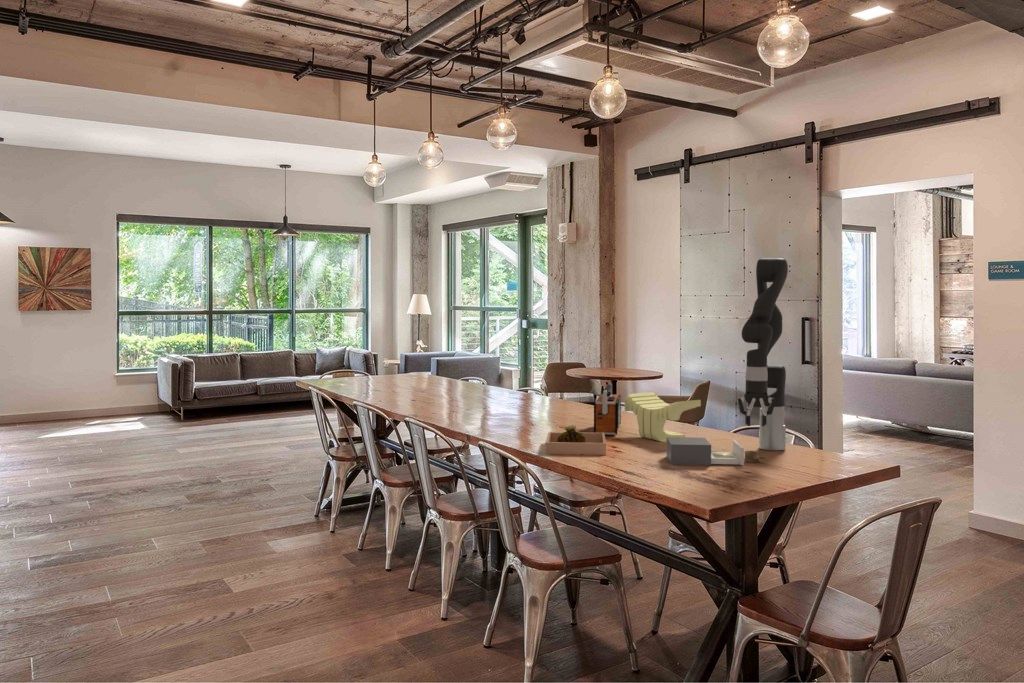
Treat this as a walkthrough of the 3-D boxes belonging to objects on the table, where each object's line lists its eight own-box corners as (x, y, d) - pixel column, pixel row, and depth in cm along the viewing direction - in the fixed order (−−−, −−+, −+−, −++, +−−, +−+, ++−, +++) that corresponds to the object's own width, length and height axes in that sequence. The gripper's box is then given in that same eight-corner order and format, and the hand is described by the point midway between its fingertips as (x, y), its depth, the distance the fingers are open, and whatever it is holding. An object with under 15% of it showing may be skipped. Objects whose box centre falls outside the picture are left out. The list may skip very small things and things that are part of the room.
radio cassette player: (616, 437, 323) (617, 391, 322) (592, 436, 325) (593, 390, 324) (620, 426, 352) (621, 383, 351) (598, 425, 354) (598, 383, 353)
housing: (705, 457, 281) (705, 437, 280) (711, 465, 266) (711, 445, 266) (666, 456, 282) (666, 437, 281) (670, 464, 268) (671, 444, 267)
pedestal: (757, 460, 275) (757, 450, 275) (760, 463, 270) (760, 453, 270) (743, 459, 276) (743, 450, 275) (746, 462, 271) (746, 453, 270)
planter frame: (604, 443, 308) (604, 432, 308) (606, 454, 285) (606, 443, 285) (548, 442, 310) (548, 432, 310) (545, 453, 287) (545, 442, 287)
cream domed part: (729, 457, 276) (729, 452, 276) (733, 460, 270) (733, 456, 270) (713, 456, 276) (713, 452, 276) (716, 460, 270) (716, 455, 270)
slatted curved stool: (624, 434, 328) (624, 394, 327) (652, 431, 336) (653, 392, 335) (670, 446, 302) (671, 402, 301) (700, 442, 310) (700, 399, 309)
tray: (735, 457, 279) (735, 440, 279) (743, 465, 265) (743, 447, 265) (697, 456, 281) (697, 440, 280) (703, 464, 267) (703, 447, 266)
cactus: (556, 444, 308) (556, 420, 308) (594, 446, 303) (594, 422, 302) (544, 452, 292) (544, 427, 291) (584, 455, 287) (584, 429, 286)
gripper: (738, 379, 267) (737, 427, 268) (779, 380, 266) (778, 428, 267) (734, 377, 275) (733, 424, 276) (774, 378, 273) (773, 424, 274)
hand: (755, 425), depth 271 cm, fingers open, 4 cm apart
